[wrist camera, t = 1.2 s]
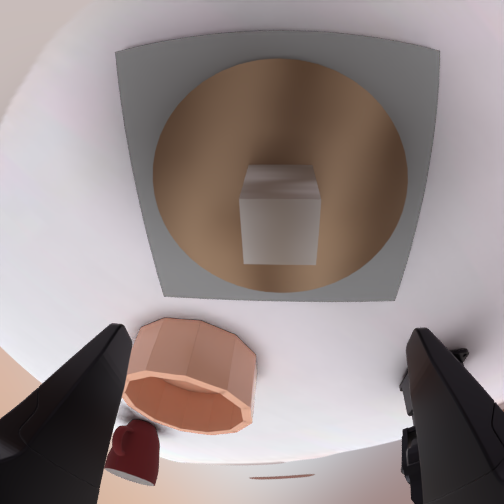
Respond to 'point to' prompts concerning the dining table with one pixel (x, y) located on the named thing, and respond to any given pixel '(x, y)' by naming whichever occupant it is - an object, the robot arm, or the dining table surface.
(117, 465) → the mug
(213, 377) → the bowl
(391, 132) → the lid
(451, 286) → the dining table surface
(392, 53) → the mat
